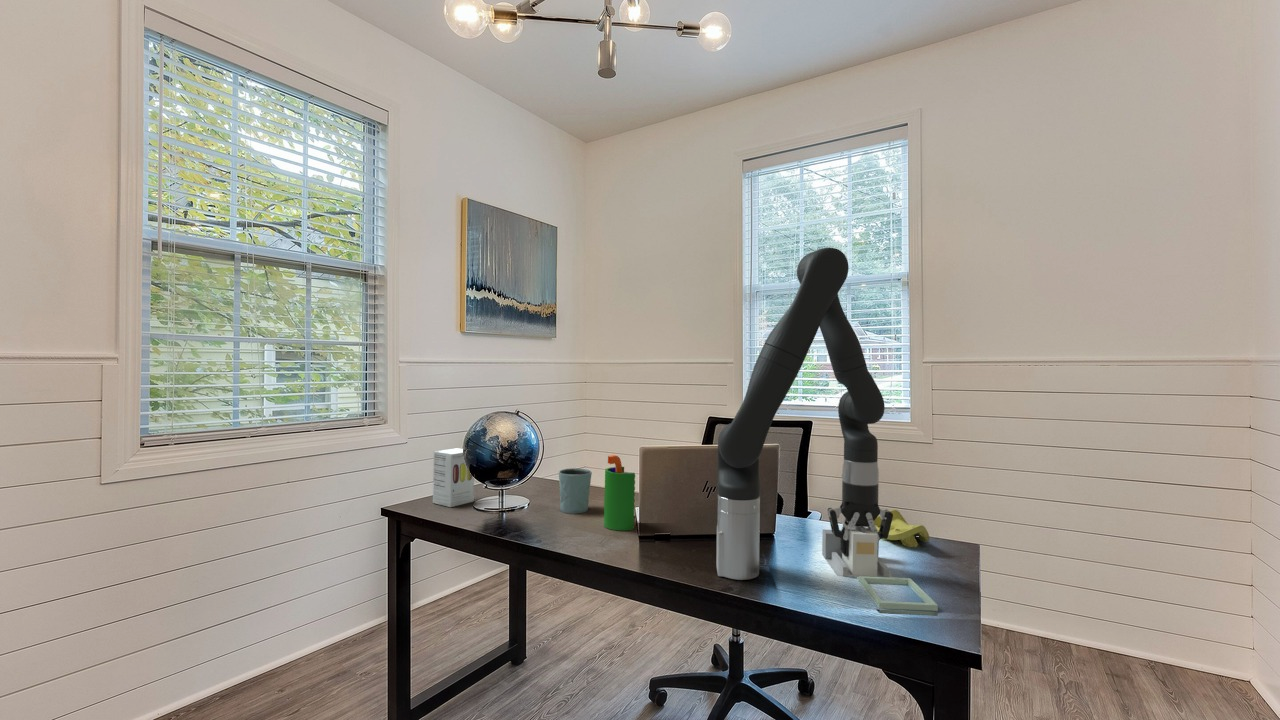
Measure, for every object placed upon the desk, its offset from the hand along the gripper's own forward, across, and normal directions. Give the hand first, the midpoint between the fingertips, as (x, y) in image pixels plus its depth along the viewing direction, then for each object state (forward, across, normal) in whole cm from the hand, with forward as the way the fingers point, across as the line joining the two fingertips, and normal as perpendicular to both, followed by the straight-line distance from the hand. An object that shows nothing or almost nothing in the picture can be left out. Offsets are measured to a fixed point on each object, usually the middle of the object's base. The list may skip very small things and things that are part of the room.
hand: (859, 555), depth 123 cm
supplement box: (+4, -114, +47) cm, 123 cm away
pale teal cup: (+4, -73, +43) cm, 85 cm away
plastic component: (+4, +18, +24) cm, 30 cm away
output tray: (+4, +3, -13) cm, 14 cm away
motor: (+4, -57, +29) cm, 64 cm away
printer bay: (+4, 0, +1) cm, 4 cm away
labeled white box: (+3, 0, 0) cm, 3 cm away
